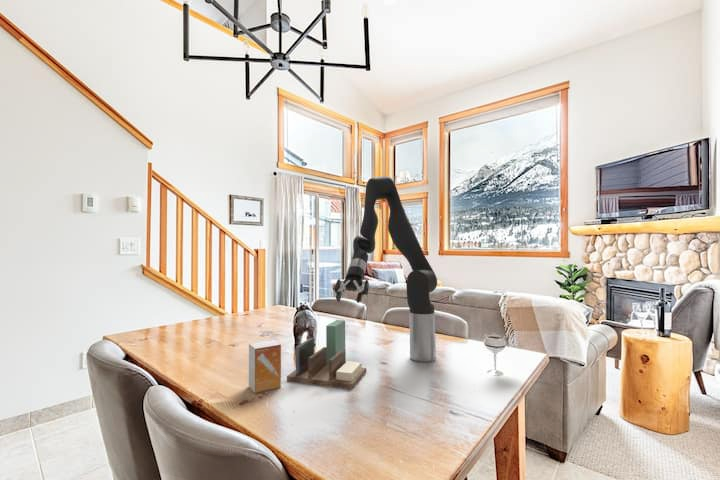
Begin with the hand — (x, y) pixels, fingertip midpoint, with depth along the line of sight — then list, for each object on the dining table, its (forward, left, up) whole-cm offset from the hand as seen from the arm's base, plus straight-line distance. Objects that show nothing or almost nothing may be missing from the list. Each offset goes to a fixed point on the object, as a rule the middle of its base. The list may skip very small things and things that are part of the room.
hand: (347, 301), depth 139 cm
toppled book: (-11, +28, -18) cm, 35 cm away
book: (0, +13, -20) cm, 24 cm away
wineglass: (-55, +9, -20) cm, 59 cm away
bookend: (+5, +28, -18) cm, 34 cm away
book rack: (-3, +28, -20) cm, 34 cm away
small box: (+12, +41, -20) cm, 47 cm away
